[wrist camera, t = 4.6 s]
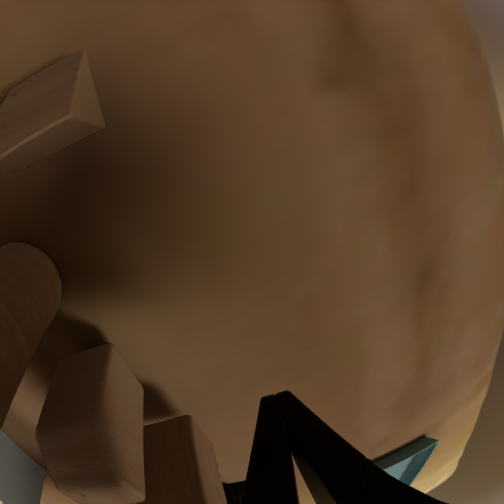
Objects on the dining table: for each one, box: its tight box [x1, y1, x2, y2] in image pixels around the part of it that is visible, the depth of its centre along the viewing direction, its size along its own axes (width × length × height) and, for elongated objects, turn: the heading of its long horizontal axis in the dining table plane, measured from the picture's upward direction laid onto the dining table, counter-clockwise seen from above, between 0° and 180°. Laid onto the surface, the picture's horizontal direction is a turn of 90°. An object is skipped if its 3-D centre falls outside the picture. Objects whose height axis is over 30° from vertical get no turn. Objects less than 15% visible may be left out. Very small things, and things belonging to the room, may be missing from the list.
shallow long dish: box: [374, 437, 439, 486], centre depth 27 cm, size 26×9×2 cm, turn 9°
